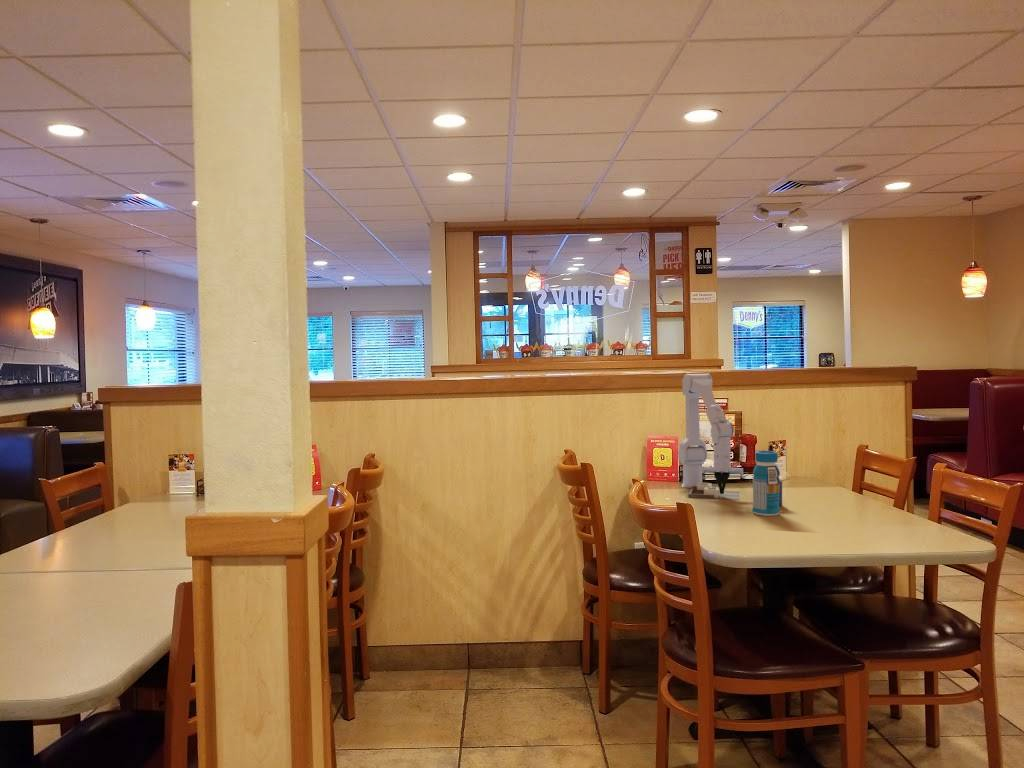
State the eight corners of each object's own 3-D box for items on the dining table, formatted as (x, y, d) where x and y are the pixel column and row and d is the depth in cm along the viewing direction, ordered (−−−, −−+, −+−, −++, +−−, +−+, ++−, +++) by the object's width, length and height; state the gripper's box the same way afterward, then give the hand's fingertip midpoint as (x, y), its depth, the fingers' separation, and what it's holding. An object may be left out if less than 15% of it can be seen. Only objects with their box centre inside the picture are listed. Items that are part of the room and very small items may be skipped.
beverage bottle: (750, 515, 243) (750, 452, 242) (754, 510, 250) (755, 449, 249) (777, 517, 239) (778, 454, 238) (781, 512, 246) (782, 451, 245)
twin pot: (697, 490, 285) (697, 481, 285) (711, 490, 283) (711, 482, 283) (696, 492, 280) (696, 483, 280) (710, 493, 278) (710, 484, 278)
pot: (704, 494, 276) (704, 485, 276) (718, 495, 275) (718, 486, 274) (703, 497, 271) (704, 488, 271) (718, 497, 270) (718, 488, 270)
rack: (689, 489, 287) (689, 486, 287) (739, 492, 282) (739, 488, 282) (686, 498, 271) (686, 494, 271) (739, 500, 265) (739, 496, 265)
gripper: (700, 456, 270) (700, 494, 270) (743, 457, 265) (743, 496, 266) (701, 453, 276) (701, 491, 277) (743, 455, 272) (743, 492, 273)
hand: (721, 493), depth 272 cm, fingers closed
